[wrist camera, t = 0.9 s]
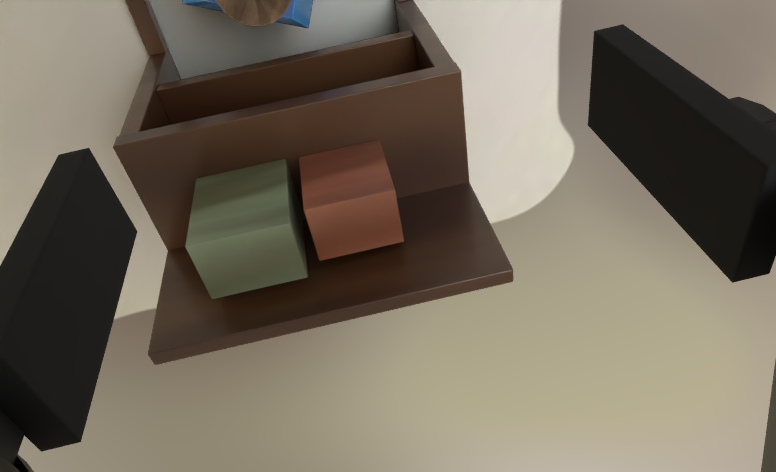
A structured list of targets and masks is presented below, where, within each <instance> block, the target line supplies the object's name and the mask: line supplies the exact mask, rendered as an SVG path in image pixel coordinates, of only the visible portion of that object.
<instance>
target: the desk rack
mask: <svg viewBox="0 0 776 472" xmlns="http://www.w3.org/2000/svg"><path fill="white" fill-rule="evenodd" d="M125 1H126V3H127V5H128V8H129V10H130V12H131V15H132V17H133V19H134V22H135V24H136V26H137V28H138V31H139V33H140V35H141V38H142V40H143V42H144V45H145V47H146V49H147V51H148V54H149V56H150V57H149V60H148V63H147V65H146V68H145V70H144V73H143V76H142V78H141V81H140V83H139V86H138V88H137V91H136V94H135V96H134V99H133V101H132V104H131V106H130V109H129V112H128V114H127V117H126V119H125V122H124V125H123V127H122V130H121V132H120V135H119V136H118V137H117V138H116V140H115V143H114V146H113V148H114V150H115V152H116V154H117V156H118V157H119V159H120V161H121V163H122V165H123V167H124V169H125V171H126V173H127V174H128V176H129V178H130V180H131V182H132V184H133V186H134V188H135V189H136V191H137V193H138V195H139V197H140V199H141V201H142V203H143V204H144V206H145V208H146V210H147V212H148V214H149V216H150V218H151V220H152V221H153V223H154V225H155V227H156V229H157V231H158V233H159V235H160V236H161V238H162V240H163V242H164V244H165V246H166V248H167V250H168V253H167V258H166V263H165V268H164V273H163V278H162V284H161V289H160V294H159V299H158V304H157V310H156V315H155V320H154V325H153V330H152V335H151V340H150V346H149V351H148V355H149V357H150V358H151V360H152V361H153V363H154V364H155V365H157V364H162V363H166V362H170V361H175V360H179V359H183V358H188V357H192V356H196V355H200V354H205V353H209V352H213V351H217V350H222V349H226V348H230V347H235V346H239V345H243V344H248V343H252V342H256V341H261V340H265V339H269V338H273V337H277V336H282V335H286V334H290V333H295V332H299V331H303V330H308V329H312V328H316V327H321V326H325V325H329V324H333V323H337V322H342V321H346V320H351V319H355V318H359V317H363V316H368V315H372V314H376V313H381V312H385V311H389V310H394V309H398V308H402V307H406V306H411V305H415V304H419V303H423V302H428V301H432V300H436V299H440V298H445V297H449V296H453V295H458V294H462V293H466V292H471V291H475V290H479V289H484V288H488V287H492V286H496V285H501V284H505V283H509V282H513V269H512V266H511V264H510V262H509V261H508V258H507V256H506V254H505V252H504V251H503V249H502V247H501V244H500V243H499V240H498V238H497V237H496V235H495V233H494V231H493V229H492V227H491V225H490V223H489V221H488V219H487V217H486V215H485V213H484V211H483V209H482V207H481V205H480V203H479V201H478V199H477V197H476V195H475V193H474V191H473V189H472V187H471V185H470V183H469V172H468V159H467V146H466V132H465V119H464V106H463V92H462V79H461V70H460V69H459V67H458V66H457V64H456V63H454V61H453V60H452V58H451V57H450V55H449V54H448V52H447V51H446V49H445V48H444V46H443V45H442V43H441V42H440V40H439V39H438V37H437V36H436V34H435V33H434V31H433V29H432V28H431V26H430V25H429V23H428V22H427V20H426V19H425V17H424V16H423V14H422V13H421V11H420V10H419V8H418V7H417V5H416V4H415V2H414V1H413V0H395V5H396V12H397V19H398V26H399V33H394V34H390V35H385V36H381V37H376V38H371V39H367V40H362V41H357V42H353V43H348V44H344V45H339V46H334V47H330V48H325V49H321V50H316V51H311V52H307V53H302V54H298V55H293V56H288V57H284V58H279V59H274V60H270V61H265V62H261V63H256V64H251V65H247V66H242V67H238V68H233V69H228V70H224V71H219V72H215V73H210V74H205V75H201V76H196V77H191V78H187V79H182V80H181V78H180V76H179V73H178V71H177V68H176V66H175V64H174V61H173V59H172V56H171V54H170V51H169V49H168V47H167V44H166V41H165V39H164V36H163V34H162V31H161V29H160V27H159V24H158V22H157V19H156V17H155V14H154V12H153V9H152V7H151V4H150V2H149V0H125Z"/></svg>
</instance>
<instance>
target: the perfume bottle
mask: <svg viewBox="0 0 776 472" xmlns="http://www.w3.org/2000/svg"><path fill="white" fill-rule="evenodd" d="M182 4H188V5H193V6H198V7H203V8H208V9H213V10H218V11H223V12H225V13H226V14H227V15H228V16H230V17H231V18H232V19H234V20H235V21H237V22H240V23H242V24H245V25H248V26H263V25H267V24H270V23H273V22H279V23H284V24H289V25H294V26H300V27H305V28H309V22H310V16H311V10H312V4H313V0H182Z"/></svg>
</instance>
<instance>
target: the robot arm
mask: <svg viewBox="0 0 776 472" xmlns="http://www.w3.org/2000/svg"><path fill="white" fill-rule="evenodd" d="M592 58H593V59H592V73H591V87H590V102H589V103H590V104H589V118H588V126H589V127H590V128H591V129H592V130H593V131H594V132H595V133H596V134H597V135H598V137H599V138H600V139H601V140H602V141H603V142H604V143H605V144H606V145H607V146H608V147H609V149H610V150H611V151H612V152H613V153H614V154H615V155H616V156H617V157H618V158H619V159H620V161H621V162H622V163H623V164H624V165H625V166H626V167H627V168H628V169H629V170H630V172H631V173H632V174H633V175H634V176H635V177H636V178H637V179H638V180H639V181H640V182H641V184H642V185H643V186H644V187H645V188H646V189H647V190H648V191H649V192H650V193H651V194H652V196H653V197H654V198H656V200H657V201H658V202H659V203H660V204H661V205H662V206H663V208H664V209H666V211H667V212H668V213H669V214H670V215H671V216H672V217H673V218H674V219H675V221H676V222H677V223H678V224H679V225H680V226H681V227H682V228H683V229H684V230H685V231H686V233H687V234H688V235H689V236H690V237H691V238H692V239H693V240H694V241H695V242H696V243H697V245H698V246H700V248H701V249H702V250H703V251H704V252H705V253H706V254H707V255H708V256H709V258H710V259H711V260H712V261H713V262H714V263H715V264H716V265H717V266H718V267H719V268H720V270H721V271H722V272H723V273H724V274H725V275H726V276H727V277H728V278H729V279H730V281H732V282H737V281H741V280H745V279H749V278H753V277H757V276H761V275H766V274H769V273H770V270H771V267H772V265H773V262H774V259H775V256H776V113H774V112H773V111H771V110H770V109H768V108H767V107H765V106H764V105H761V104H758V103H755V102H753V101H749V100H747V99H744V98H741V97H736V98H732V99H728V98H726V97H725V96H724V95H722V94H721V93H719V92H718V91H717V90H715V89H714V88H712V87H711V86H709V85H708V84H707V83H705V82H704V81H702V80H701V79H699V78H698V77H696V76H695V75H694V74H692V73H691V72H690V71H688V70H687V69H685V68H684V67H683V66H681V65H680V64H678V63H677V62H675V61H674V60H672V59H671V58H670V57H668V56H667V55H666V54H664V53H663V52H661V51H660V50H658V49H657V48H656V47H654V46H653V45H651V44H650V43H648V42H647V41H646V40H644V39H643V38H641V37H640V36H639V35H637V34H636V33H634V32H633V31H631V30H630V29H629V28H627V27H626V26H624V25H618V26H614V27H610V28H606V29H602V30H597V31H594V42H593V57H592ZM136 234H137V230H136V228H135V227H134V225H133V223H132V221H131V220H130V218H129V216H128V215H127V213H126V211H125V209H124V208H123V206H122V204H121V202H120V201H119V199H118V197H117V196H116V194H115V192H114V190H113V189H112V187H111V185H110V183H109V182H108V180H107V178H106V177H105V175H104V173H103V171H102V170H101V168H100V166H99V164H98V163H97V161H96V159H95V158H94V156H93V154H92V152H91V151H90V149H89V148H86V149H82V150H78V151H73V152H69V153H65V154H60V155H58V157H57V159H56V161H55V163H54V165H53V167H52V169H51V170H50V172H49V174H48V176H47V178H46V180H45V182H44V184H43V186H42V188H41V190H40V191H39V193H38V195H37V197H36V199H35V201H34V203H33V205H32V207H31V209H30V210H29V212H28V214H27V216H26V218H25V220H24V222H23V224H22V226H21V228H20V230H19V231H18V233H17V235H16V237H15V239H14V241H13V243H12V245H11V247H10V249H9V250H8V252H7V254H6V256H5V258H4V260H3V262H2V264H1V266H0V472H34V471H33V470H32V469H31V467H30V466H29V465H28V463H27V462H26V461H25V460H24V459H22V458H21V457H20V456H19V455H18V451H19V448H20V445H21V443H22V440H23V437H24V435H25V436H26V437H27V438H28V439H29V440H30V441H31V442H32V443H33V444H34V445H35V446H36V447H37V448H38V449H39V450H40V451H45V450H49V449H53V448H57V447H62V446H65V445H70V444H74V443H78V442H81V439H82V435H83V431H84V428H85V424H86V420H87V416H88V413H89V409H90V405H91V401H92V398H93V394H94V390H95V386H96V383H97V379H98V375H99V372H100V368H101V364H102V360H103V357H104V353H105V349H106V345H107V342H108V338H109V334H110V331H111V327H112V323H113V320H114V316H115V312H116V308H117V305H118V301H119V297H120V293H121V290H122V286H123V282H124V279H125V275H126V271H127V267H128V264H129V260H130V256H131V252H132V249H133V245H134V241H135V238H136ZM761 472H776V361H775V369H774V376H773V384H772V392H771V400H770V408H769V415H768V422H767V430H766V438H765V445H764V453H763V460H762V468H761Z"/></svg>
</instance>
